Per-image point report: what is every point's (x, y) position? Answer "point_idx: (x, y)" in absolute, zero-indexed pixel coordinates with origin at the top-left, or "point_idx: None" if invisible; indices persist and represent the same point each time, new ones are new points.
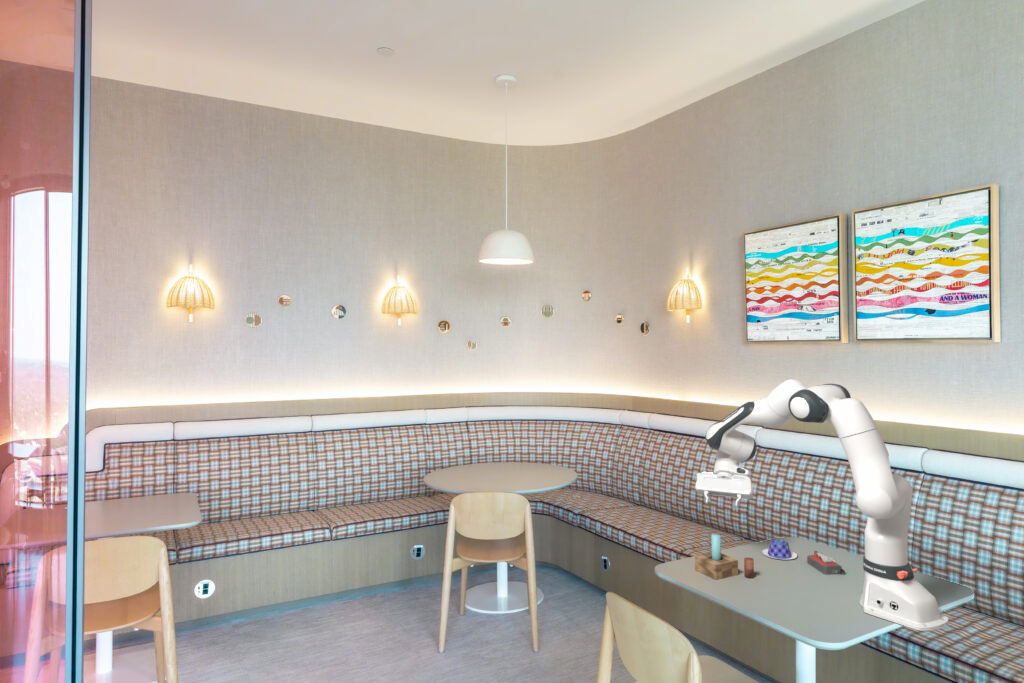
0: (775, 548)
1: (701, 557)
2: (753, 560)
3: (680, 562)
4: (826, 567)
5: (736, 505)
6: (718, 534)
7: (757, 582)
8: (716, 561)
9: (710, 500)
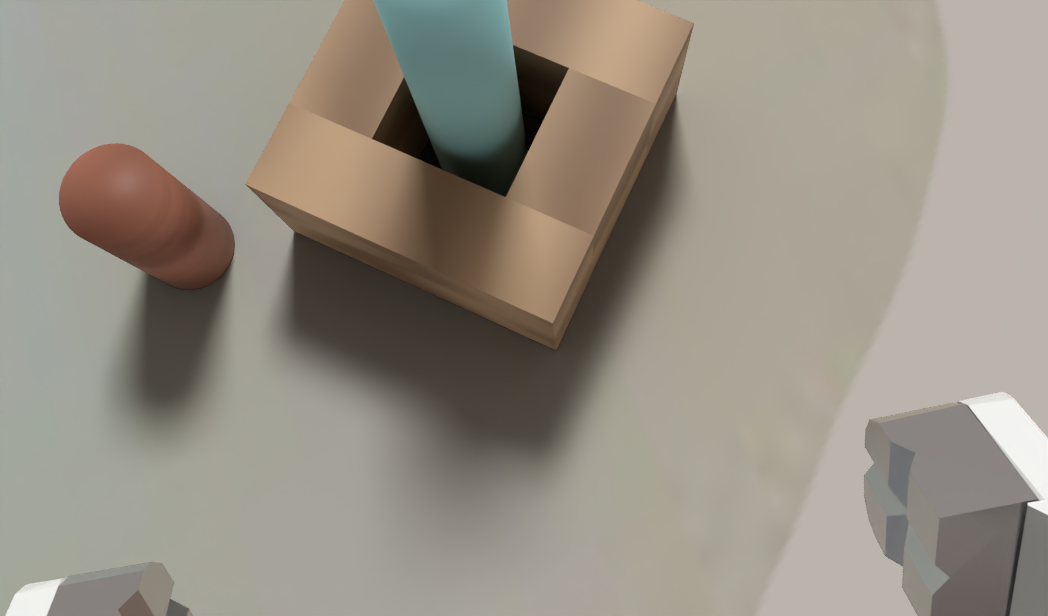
0: None
1: (612, 20)
2: (62, 201)
3: (894, 196)
4: None
5: (40, 585)
6: (406, 2)
7: None
8: None
9: (911, 515)
